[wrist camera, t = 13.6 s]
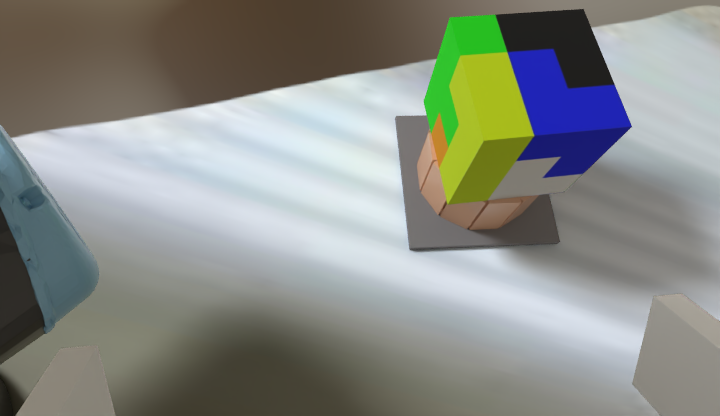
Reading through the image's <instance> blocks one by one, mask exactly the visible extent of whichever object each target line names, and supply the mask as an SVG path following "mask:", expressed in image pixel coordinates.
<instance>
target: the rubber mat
mask: <svg viewBox="0 0 720 416" xmlns="http://www.w3.org/2000/svg"><path fill="white" fill-rule="evenodd" d="M395 120H396V129H397V139H398V148H399V157H400V166H401V175H402V185H403V194H404V203H405V212H406V221H407V231H408V240H409V249H410V250H411V249H435V248H460V247H484V246H509V245H533V244H557V243H559V242H560V240H559V236H558V232H557V227H556V223H555V219H554V214H553V210H552V206H551V201H550V197H549V194H543V195H539V196H538V197H537V198H536V199H535V200H534V201H533V202H532V203H531V204H530V205H529V207H528V208H527V209H526V210H525V211H524V212H523V213H522V214H521V215H519V216H518V217H516V218H515V219H513V220H511V221H510V222H508V223H507V224H505V225H504V226H502V227H501V228H500V227H499V228H498V229H479V230H469V228H467V229H465V228H463V227H461V226H459V225H456V224H454V223H452V222H450V221H448V220H446V219H444V218H442V217H440V214H439V215H437V213H436V212H435V211H434V209H433V208H432V207H431V205H430V204H429V203H428V201H427V200H426V199H425V198H424V196H423V195H422V194H421V191H422V190H420V188H419V179H418V171H417V162H418V159H419V157H420V154H421V151H422V148H423V145H424V143H425V140H426V137H427V134H428V131H429V129H430V127H429V122H428V118H427V116H396V118H395Z"/></svg>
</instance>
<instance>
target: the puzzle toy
mask: <svg viewBox="0 0 720 416" xmlns="http://www.w3.org/2000/svg"><path fill="white" fill-rule="evenodd" d="M424 105H425V109H426V114H427V118H428V122H429V127H430V131H431V135H432V140H433V144H434V148H435V153H436V157H437V161H438V166H439V170H440V174H441V179H442V183H443V187H444V192H445V196H446V200H447V205H451V204H460V203H469V202H478V201H487V200H497V199H506V198H515V197H524V196H533V195H543V194H552V193H561V192H565V191H566V190H567V189H568V188H569V187H570V186H571V185H572V184H573V183H574V182H575V181H576V180H577V179H578V178H579V177H580V176H581V175H582V174H583V173H584V172H585V171H587V170H588V169H589V168H590V167H591V166H592V165H593V164H594V163H595V162H596V161H597V160H598V159H599V158H600V157H601V156H602V155H603V154H604V153H605V152H606V151H607V150H608V149H609V148H610V147H611V146H612V145H613V144H615V143H616V142H617V141H618V140H619V139H620V138H621V137H622V136H623V135H624V134H625V133H626V132H627V131H628V130H629V129H630V128H631V127H632V126H631V123H630V121H629V118H628V116H627V114H626V111H625V109H624V106H623V104H622V101H621V99H620V97H619V94H618V92H617V89H616V87H615V84H614V82H613V80H612V77H611V75H610V72H609V70H608V68H607V65H606V63H605V60H604V58H603V55H602V53H601V51H600V48H599V46H598V43H597V41H596V38H595V36H594V34H593V31H592V29H591V26H590V24H589V21H588V19H587V17H586V14H585V12H584V9H579V10H563V11H546V12H531V13H515V14H500V15H483V16H470V17H469V16H468V17H452V18H450V19H449V22H448V25H447V28H446V32H445V35H444V38H443V42H442V45H441V48H440V51H439V54H438V57H437V61H436V64H435V67H434V70H433V74H432V77H431V80H430V83H429V86H428V90H427V93H426V96H425V99H424Z"/></svg>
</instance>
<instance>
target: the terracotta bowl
mask: <svg viewBox="0 0 720 416" xmlns="http://www.w3.org/2000/svg"><path fill="white" fill-rule="evenodd" d="M417 171H418V179H419V188H420V190H422V191H421V194H422V195H423V196H424V198H425V199H426V200H427V201H428V203H429V204H430V205H431V207H432V208H433V209H434V211H435V212H436V213H437V215H439V214H440V217H442V218H444V219H446V220H448V221H450V222H452V223H454V224H456V225H459V226H461V227H463V228H465V229H467V228H469V230H479V229H498V228H499V227H500V228H501V227H502V226H504V225H505V224H507V223H508V222H510V221H511V220H513V219H515V218H516V217H518V216H519V215H521V214H522V213H523V212H524V211H525V210H526V209H527V208H528V207H529V205H530V204H531V203H532V202H533V201H534V200H535V199H536V198H537V197H538V196H539V195H533V196H524V197H515V198H506V199H497V200H487V201H478V202H469V203H460V204H451V205H447V200H446V196H445V192H444V187H443V183H442V179H441V174H440V170H439V166H438V161H437V157H436V153H435V148H434V144H433V140H432V135H431V131H430V129H429V131H428V134H427V137H426V140H425V143H424V145H423V148H422V151H421V154H420V157H419V159H418V162H417Z"/></svg>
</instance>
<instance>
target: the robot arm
mask: <svg viewBox="0 0 720 416" xmlns="http://www.w3.org/2000/svg"><path fill="white" fill-rule="evenodd" d="M98 279H99V268H98V265H97V262H96V260H95V258H94V257H93V255H92V253H91V252H90V250H89V248H88V247H87V245H86V244H85V242H84V241H83V239H82V238H81V236H80V235H79V233H78V232H77V230H76V229H75V227H74V226H73V224H72V223H71V222H70V220H69V219H68V217H67V216H66V214H65V213H64V211H63V210H62V209H61V207H60V206H59V204H58V203H57V201H56V200H55V199H54V197H53V196H52V194H51V193H50V192H49V190H48V189H47V187H46V186H45V185H44V183H43V182H42V180H41V179H40V178H39V176H38V175H37V174H36V172H35V171H34V169H33V168H32V167H31V165H30V164H29V162H28V161H27V160H26V158H25V157H24V155H23V154H22V153H21V151H20V150H19V149H18V147H17V146H16V145H15V143H14V142H13V141H12V139H11V138H10V137H9V135H8V134H7V133H6V131H5V130H4V129H3V127H2V126H1V125H0V364H2V363H3V362H5V361H6V360H7V359H9V358H10V357H12V356H13V355H15V354H16V353H17V352H19V351H20V350H22V349H23V348H25V347H26V346H27V345H29V344H30V343H32V342H33V341H35V340H36V339H37V338H39V337H40V336H42V335H43V334H47V333H48V332H50V331H51V330H52V329H53V328H54V326H55V323H56V322H58V321H59V320H60V319H61V318H63V317H64V316H65V315H66V314H68V313H69V312H70V311H71V310H72V309H74V308H75V307H76V306H77V305H79V304H80V303H81V302H82V301H84V300H85V299H86V298H87V297H88V296H89V295H90V294H91V293H92V292H93V291H94V289H95V287H96V285H97V283H98ZM632 384H633V385H634V387H635V388H636V389H637V390H638V391H639V392H640V393H641V394H642V395H643V397H644V398H645V399H646V400H647V401H648V402H649V403H650V404H651V405H652V407H653V408H654V409H655V410H656V411H657V412H658V413H659V414H660V415H661V416H720V321H718V320H717V319H716V318H714V317H713V316H712V315H710V314H709V313H708V312H706V311H705V310H704V309H702V308H701V307H699V306H698V305H697V304H695V303H694V302H693V301H691V300H690V299H689V298H687V297H686V296H685V295H683V294H672V295H660V296H654V297H653V301H652V305H651V309H650V313H649V317H648V321H647V325H646V330H645V334H644V338H643V342H642V346H641V350H640V354H639V358H638V362H637V366H636V370H635V375H634V379H633V383H632ZM0 416H13V411H12V405H11V401H10V397H9V395H8V392H7V389H6V387H5V385H4V383H3V382H2V380H1V378H0ZM16 416H115V412H114V408H113V404H112V400H111V396H110V392H109V388H108V384H107V381H106V377H105V373H104V369H103V365H102V361H101V357H100V353H99V349H98V345H92V346H81V347H70V348H60V349H59V351H58V352H57V354H56V355H55V357H54V358H53V360H52V361H51V363H50V364H49V366H48V367H47V369H46V370H45V372H44V373H43V375H42V376H41V378H40V380H39V381H38V383H37V384H36V386H35V387H34V389H33V390H32V392H31V393H30V395H29V396H28V398H27V399H26V401H25V402H24V404H23V405H22V407H21V408H20V410H19V411H18V413H17V414H16Z"/></svg>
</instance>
